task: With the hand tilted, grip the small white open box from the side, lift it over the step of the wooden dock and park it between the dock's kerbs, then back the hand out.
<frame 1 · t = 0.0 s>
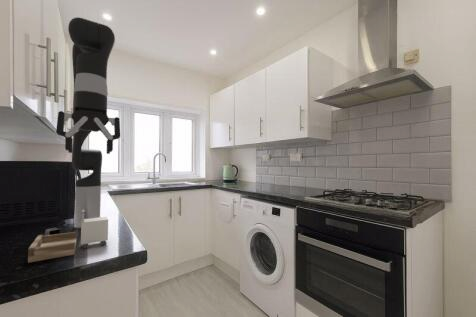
hand: (89, 153, 60), 29 cm above the countertop, tool pointing down, fingers open, 8 cm apart
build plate: (52, 243, 77), on the countertop
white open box: (94, 245, 72), on the countertop
dock: (55, 250, 68), on the countertop
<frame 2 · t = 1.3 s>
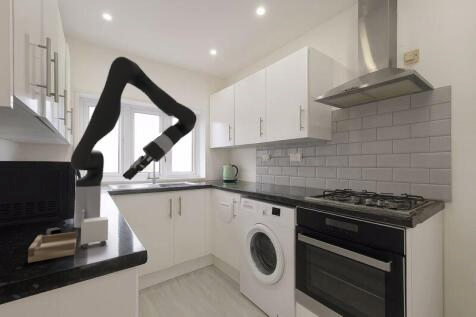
hand: (125, 177, 80), 22 cm above the countertop, tool tilted 45°, fingers open, 8 cm apart
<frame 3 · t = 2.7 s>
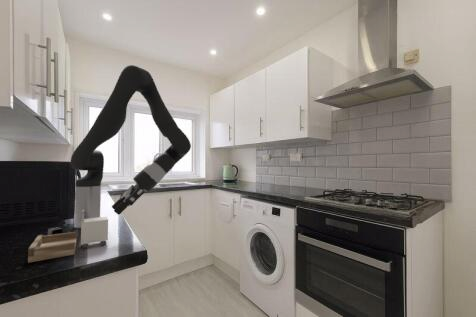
hand: (114, 210, 76), 10 cm above the countertop, tool tilted 45°, fingers open, 8 cm apart
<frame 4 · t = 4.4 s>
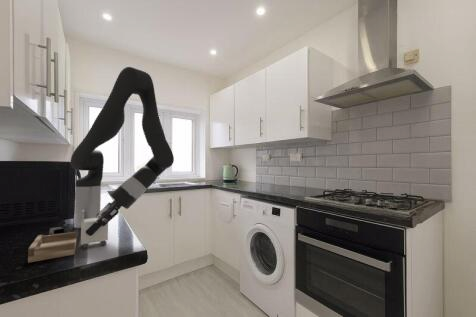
hand: (88, 231, 72), 5 cm above the countertop, tool tilted 45°, fingers closed on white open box, 5 cm apart
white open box: (94, 245, 72), on the countertop, touching gripper
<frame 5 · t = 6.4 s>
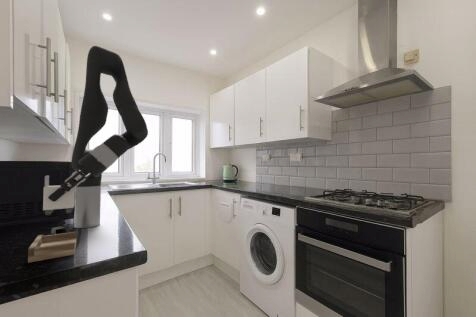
hand: (52, 198, 68), 16 cm above the countertop, tool tilted 45°, fingers closed on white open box, 5 cm apart
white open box: (59, 212, 69), point 11 cm above the countertop, touching gripper
when the fingers open (7 cm above the countertop, at t = 8.5 s): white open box drops 1 cm, resting on dock.
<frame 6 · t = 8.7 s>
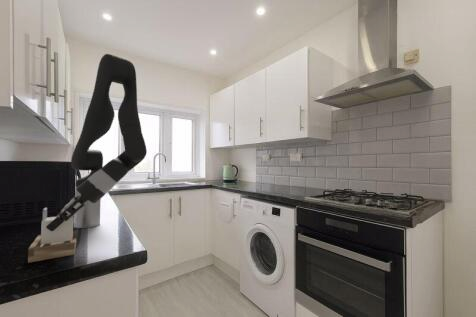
hand: (50, 226, 67), 7 cm above the countertop, tool tilted 45°, fingers open, 6 cm apart
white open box: (57, 245, 68), point 2 cm above the countertop, touching dock
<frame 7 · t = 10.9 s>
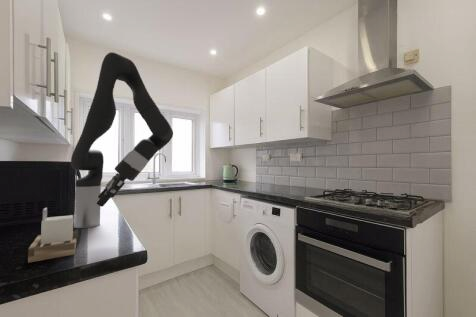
hand: (99, 201, 76), 14 cm above the countertop, tool tilted 40°, fingers open, 8 cm apart
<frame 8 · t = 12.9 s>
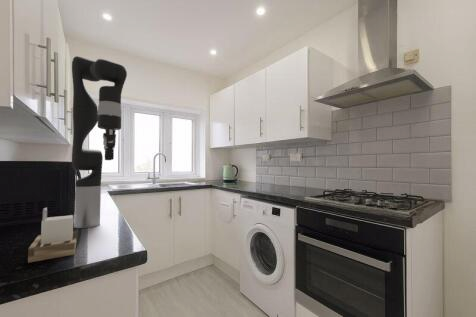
hand: (108, 159, 81), 28 cm above the countertop, tool pointing down, fingers open, 8 cm apart
at the end: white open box inside the target area on the dock (0.0 cm from its centre), point 1.5 cm above the dock's base; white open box tilted 0°; the gripper is holding nothing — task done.
